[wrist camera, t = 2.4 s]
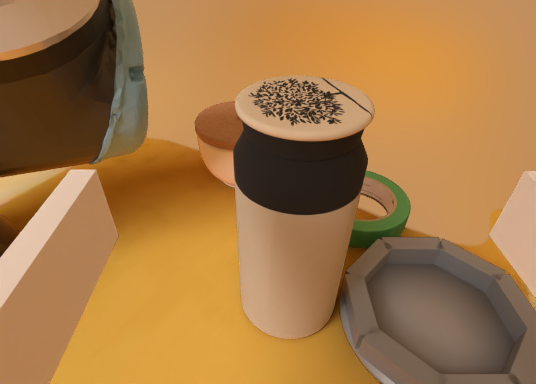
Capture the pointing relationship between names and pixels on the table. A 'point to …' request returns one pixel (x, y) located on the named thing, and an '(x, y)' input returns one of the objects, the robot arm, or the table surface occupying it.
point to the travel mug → (297, 197)
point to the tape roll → (391, 201)
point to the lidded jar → (219, 139)
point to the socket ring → (436, 316)
